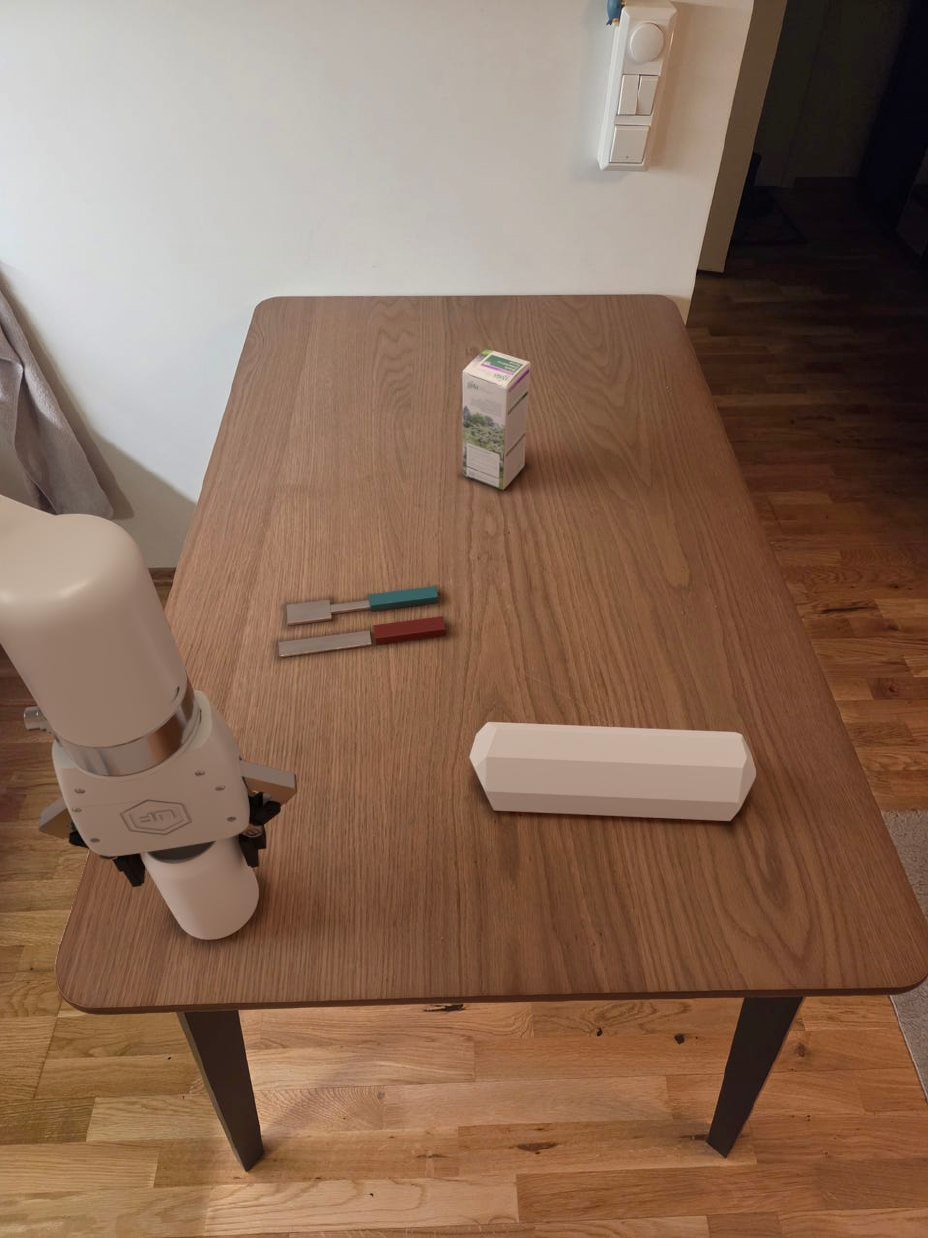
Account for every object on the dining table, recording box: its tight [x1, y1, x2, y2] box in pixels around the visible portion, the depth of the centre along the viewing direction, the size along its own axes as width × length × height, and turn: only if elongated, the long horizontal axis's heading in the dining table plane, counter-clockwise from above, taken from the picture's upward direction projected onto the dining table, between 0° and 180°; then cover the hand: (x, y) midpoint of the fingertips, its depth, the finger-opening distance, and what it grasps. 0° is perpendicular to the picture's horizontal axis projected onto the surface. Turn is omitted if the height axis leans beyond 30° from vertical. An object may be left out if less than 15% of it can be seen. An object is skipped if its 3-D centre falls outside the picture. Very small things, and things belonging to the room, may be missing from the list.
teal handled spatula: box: [286, 585, 439, 626], centre depth 88 cm, size 15×3×1 cm, turn 100°
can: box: [140, 834, 260, 941], centre depth 63 cm, size 6×6×12 cm
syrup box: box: [461, 348, 531, 491], centre depth 98 cm, size 6×6×14 cm
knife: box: [278, 615, 446, 658], centre depth 85 cm, size 16×2×1 cm, turn 100°
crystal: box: [468, 721, 757, 822], centre depth 73 cm, size 7×7×24 cm
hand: (197, 857), depth 62 cm, fingers open, 7 cm apart
